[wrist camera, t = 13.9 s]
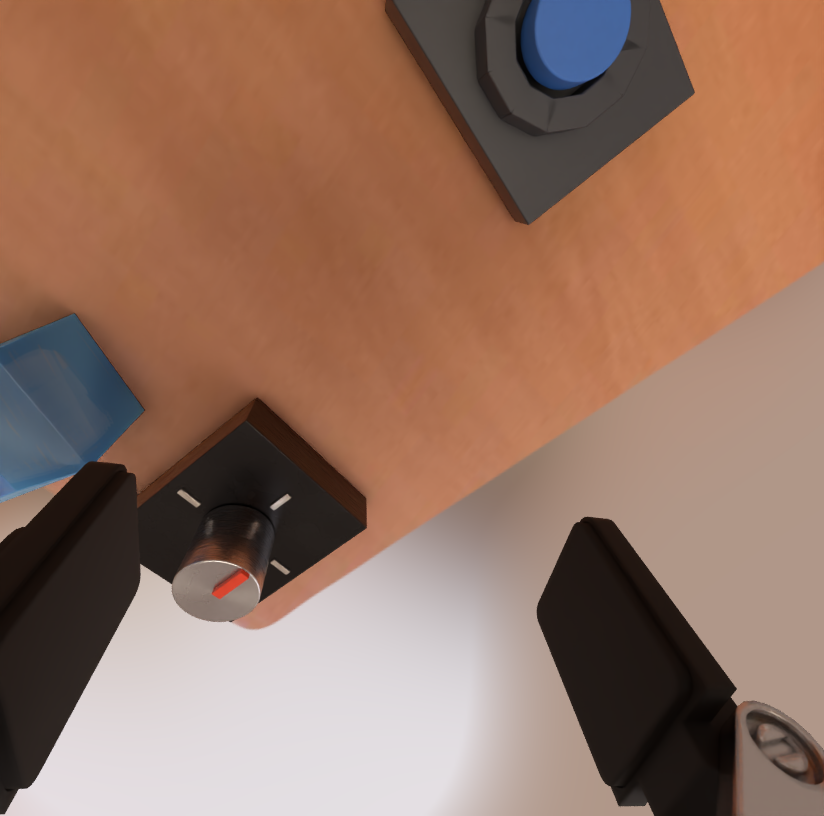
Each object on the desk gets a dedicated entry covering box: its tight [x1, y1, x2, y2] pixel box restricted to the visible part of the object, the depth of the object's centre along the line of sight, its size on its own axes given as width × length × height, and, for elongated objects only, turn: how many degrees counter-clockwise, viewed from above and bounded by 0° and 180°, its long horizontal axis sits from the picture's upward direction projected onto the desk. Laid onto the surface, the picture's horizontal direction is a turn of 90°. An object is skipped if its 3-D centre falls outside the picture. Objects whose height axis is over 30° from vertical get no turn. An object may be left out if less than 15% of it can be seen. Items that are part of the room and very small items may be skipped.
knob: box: [172, 505, 275, 622], centre depth 26 cm, size 4×4×5 cm
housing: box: [385, 0, 695, 225], centre depth 20 cm, size 11×9×4 cm
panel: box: [137, 398, 367, 622], centre depth 29 cm, size 10×12×3 cm
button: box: [521, 0, 631, 90], centre depth 18 cm, size 4×4×2 cm
